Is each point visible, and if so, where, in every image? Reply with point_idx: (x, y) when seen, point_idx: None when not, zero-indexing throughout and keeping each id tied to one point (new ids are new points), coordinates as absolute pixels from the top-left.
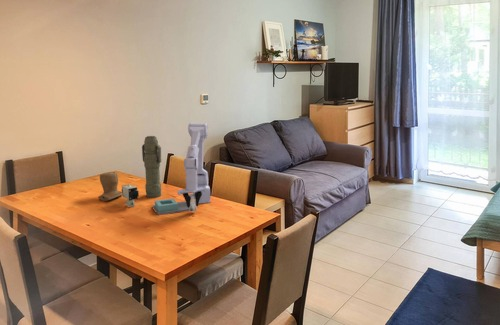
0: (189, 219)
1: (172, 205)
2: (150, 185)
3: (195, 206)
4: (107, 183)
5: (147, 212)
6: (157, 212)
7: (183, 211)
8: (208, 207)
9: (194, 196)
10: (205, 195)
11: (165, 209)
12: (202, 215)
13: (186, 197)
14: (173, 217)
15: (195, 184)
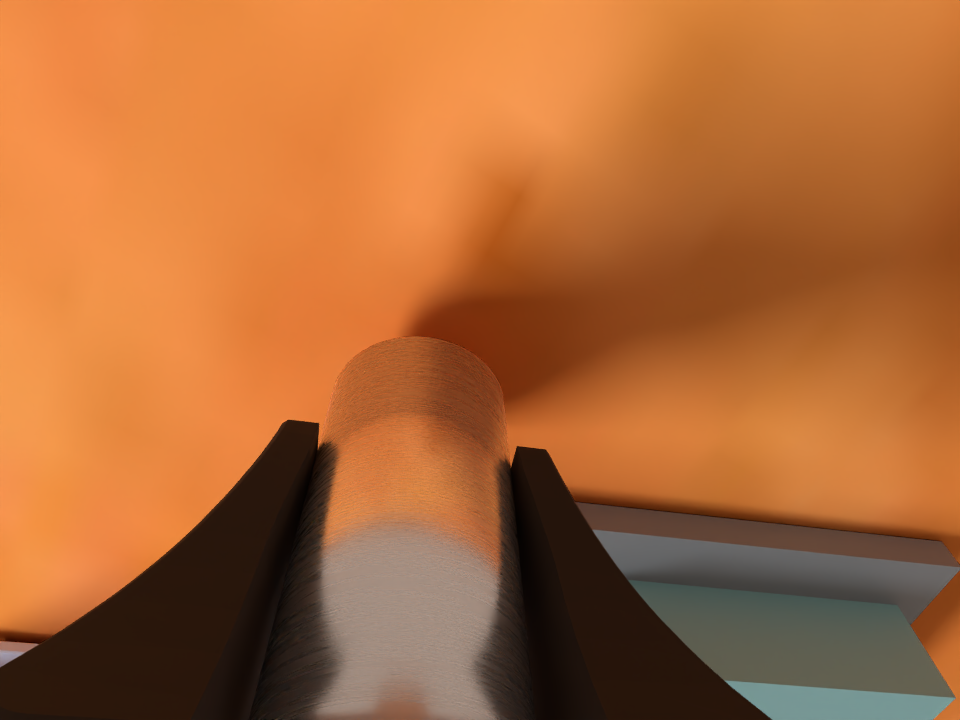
0: (704, 24)
1: (711, 660)
2: None
3: (364, 410)
4: None
5: (945, 662)
6: (938, 592)
7: None
8: (25, 475)
9: (352, 687)
10: None
11: (812, 617)
12: (284, 116)
13: (715, 701)
14: (861, 340)
15: None
